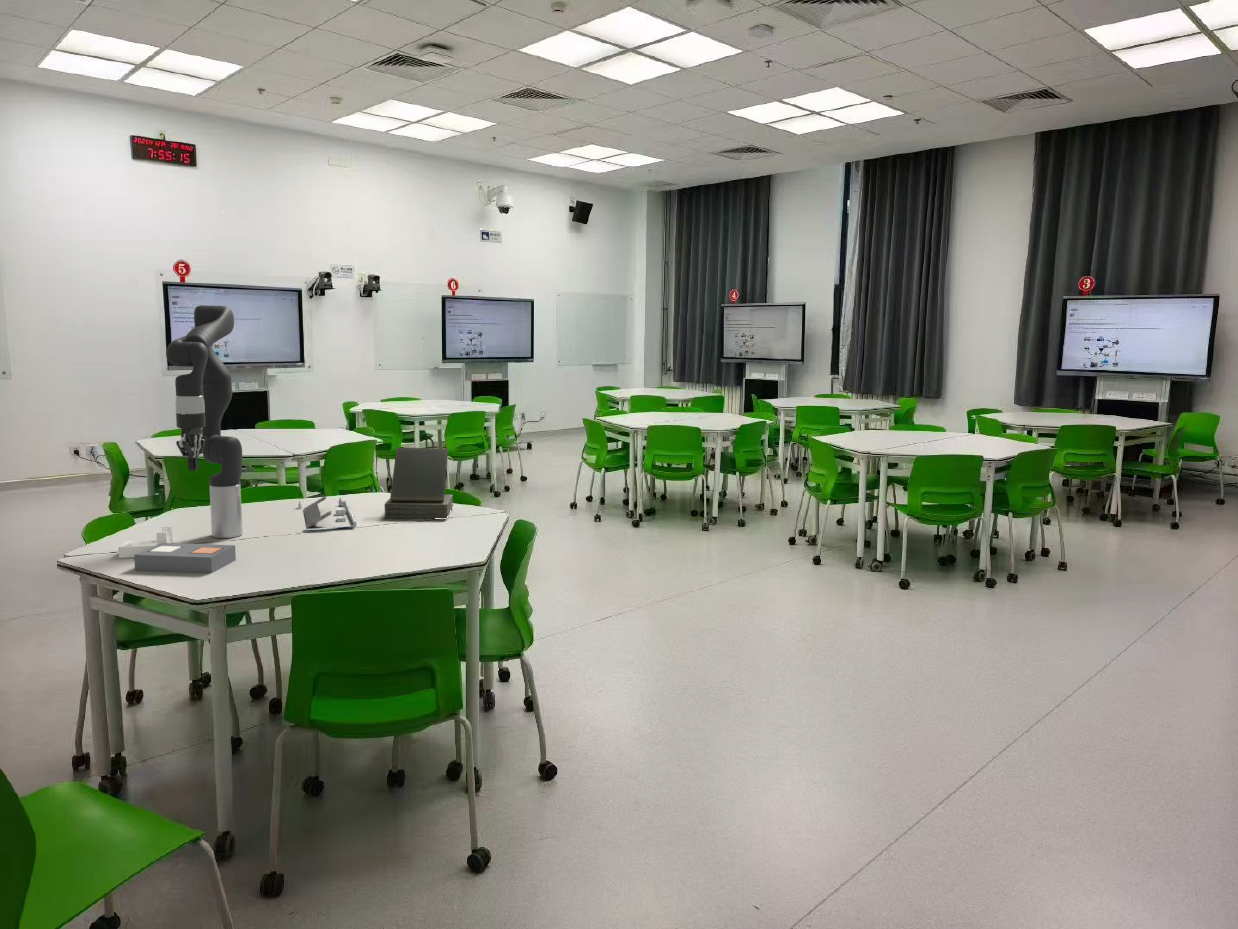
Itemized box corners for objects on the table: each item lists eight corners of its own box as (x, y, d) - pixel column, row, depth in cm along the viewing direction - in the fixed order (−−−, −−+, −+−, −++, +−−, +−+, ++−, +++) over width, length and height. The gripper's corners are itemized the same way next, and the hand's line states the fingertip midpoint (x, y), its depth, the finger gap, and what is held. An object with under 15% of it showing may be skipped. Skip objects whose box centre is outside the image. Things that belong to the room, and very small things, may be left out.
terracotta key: (202, 558, 245) (201, 547, 244) (222, 559, 245) (221, 548, 244) (191, 564, 239) (190, 552, 238) (212, 565, 239) (211, 553, 238)
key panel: (163, 557, 249) (162, 542, 248) (235, 560, 249) (235, 545, 248) (135, 570, 235) (134, 554, 235) (212, 573, 235) (211, 557, 234)
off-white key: (161, 557, 245) (161, 545, 244) (182, 558, 245) (181, 546, 244) (150, 562, 239) (149, 551, 238) (170, 563, 239) (170, 551, 238)
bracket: (173, 550, 258) (171, 527, 257) (167, 556, 251) (166, 532, 250) (125, 552, 254) (124, 528, 253) (118, 558, 248) (117, 533, 246)
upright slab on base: (384, 520, 309) (383, 453, 305) (394, 509, 328) (393, 446, 324) (447, 520, 311) (447, 454, 307) (453, 510, 330) (453, 447, 326)
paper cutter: (346, 506, 332) (346, 492, 331) (358, 531, 291) (357, 515, 290) (298, 508, 325) (297, 494, 324) (302, 534, 284) (302, 518, 283)
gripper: (189, 409, 248) (192, 466, 250) (164, 413, 235) (168, 473, 237) (214, 409, 248) (217, 467, 250) (191, 413, 235) (194, 474, 237)
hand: (193, 470), depth 244 cm, fingers closed
